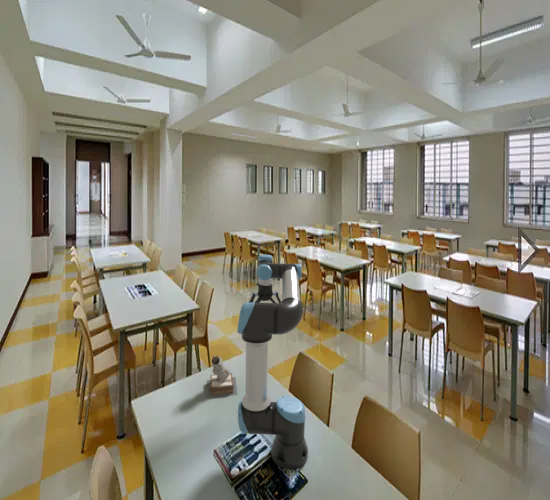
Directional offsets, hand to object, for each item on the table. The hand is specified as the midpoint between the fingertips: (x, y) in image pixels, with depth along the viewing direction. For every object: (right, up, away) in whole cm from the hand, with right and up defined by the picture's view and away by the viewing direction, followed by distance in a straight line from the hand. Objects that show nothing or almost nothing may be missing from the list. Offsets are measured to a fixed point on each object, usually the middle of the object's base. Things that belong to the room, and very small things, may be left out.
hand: (264, 321), depth 169 cm
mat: (-24, -37, +1) cm, 44 cm away
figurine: (-24, -32, 0) cm, 40 cm away
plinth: (-24, -36, +1) cm, 43 cm away
